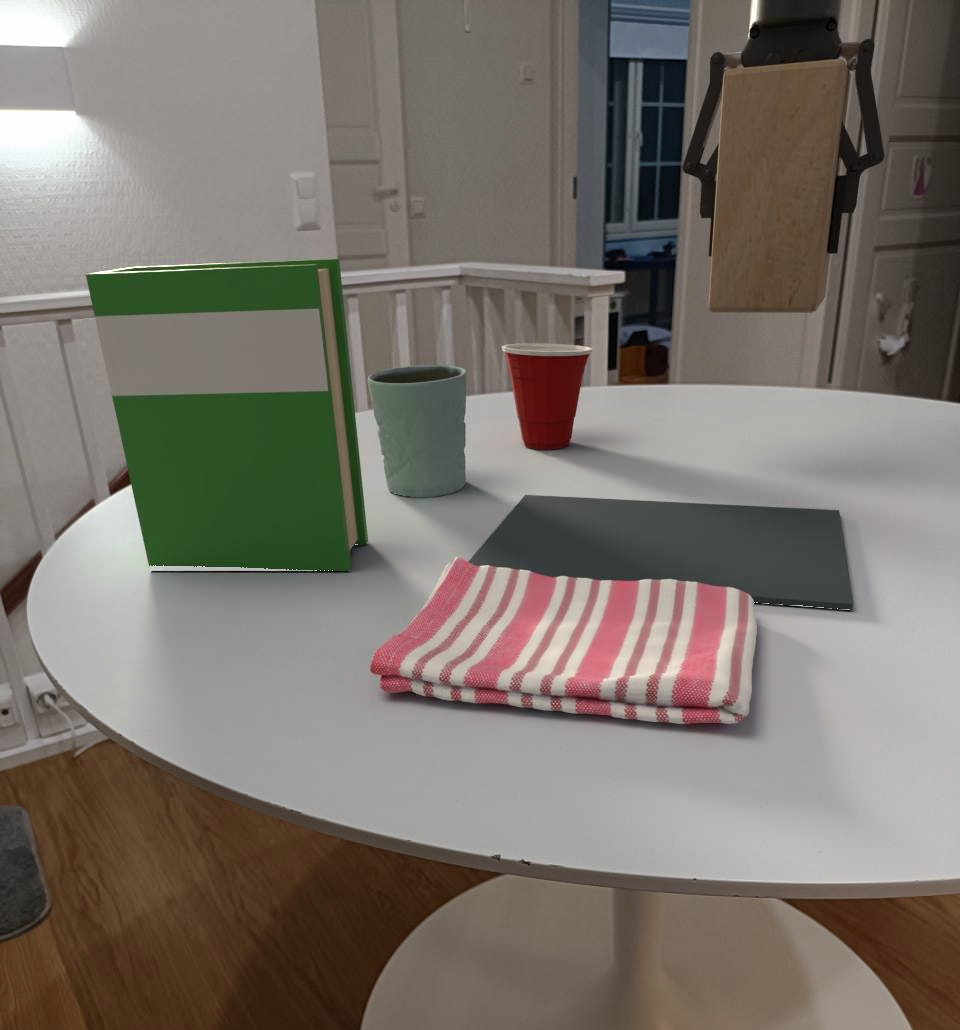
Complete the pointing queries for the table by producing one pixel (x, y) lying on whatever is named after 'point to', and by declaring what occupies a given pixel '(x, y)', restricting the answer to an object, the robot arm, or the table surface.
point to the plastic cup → (546, 390)
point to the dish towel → (578, 645)
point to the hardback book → (235, 411)
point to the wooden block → (776, 185)
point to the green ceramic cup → (421, 428)
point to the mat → (679, 546)
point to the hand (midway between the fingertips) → (772, 254)
